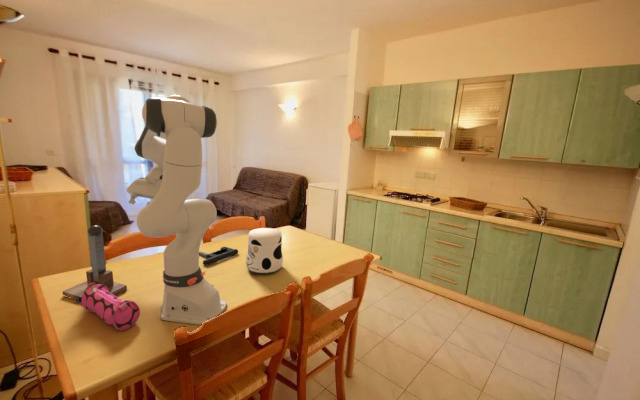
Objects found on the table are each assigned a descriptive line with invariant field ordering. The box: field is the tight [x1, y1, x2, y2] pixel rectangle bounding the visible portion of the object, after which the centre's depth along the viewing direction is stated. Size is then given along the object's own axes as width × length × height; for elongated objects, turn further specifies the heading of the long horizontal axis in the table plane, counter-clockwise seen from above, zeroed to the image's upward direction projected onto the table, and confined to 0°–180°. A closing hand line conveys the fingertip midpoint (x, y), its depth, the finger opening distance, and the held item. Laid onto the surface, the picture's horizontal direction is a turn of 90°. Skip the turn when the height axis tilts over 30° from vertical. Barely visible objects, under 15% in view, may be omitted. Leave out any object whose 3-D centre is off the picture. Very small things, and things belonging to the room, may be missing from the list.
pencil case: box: [75, 282, 141, 331], centre depth 94 cm, size 21×10×10 cm, turn 63°
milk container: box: [245, 227, 284, 275], centre depth 136 cm, size 17×17×18 cm
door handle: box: [199, 246, 239, 266], centre depth 147 cm, size 3×20×16 cm
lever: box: [86, 224, 107, 282], centre depth 107 cm, size 4×4×22 cm
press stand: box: [62, 268, 128, 300], centre depth 108 cm, size 16×12×8 cm
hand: (139, 205), depth 122 cm, fingers open, 8 cm apart
